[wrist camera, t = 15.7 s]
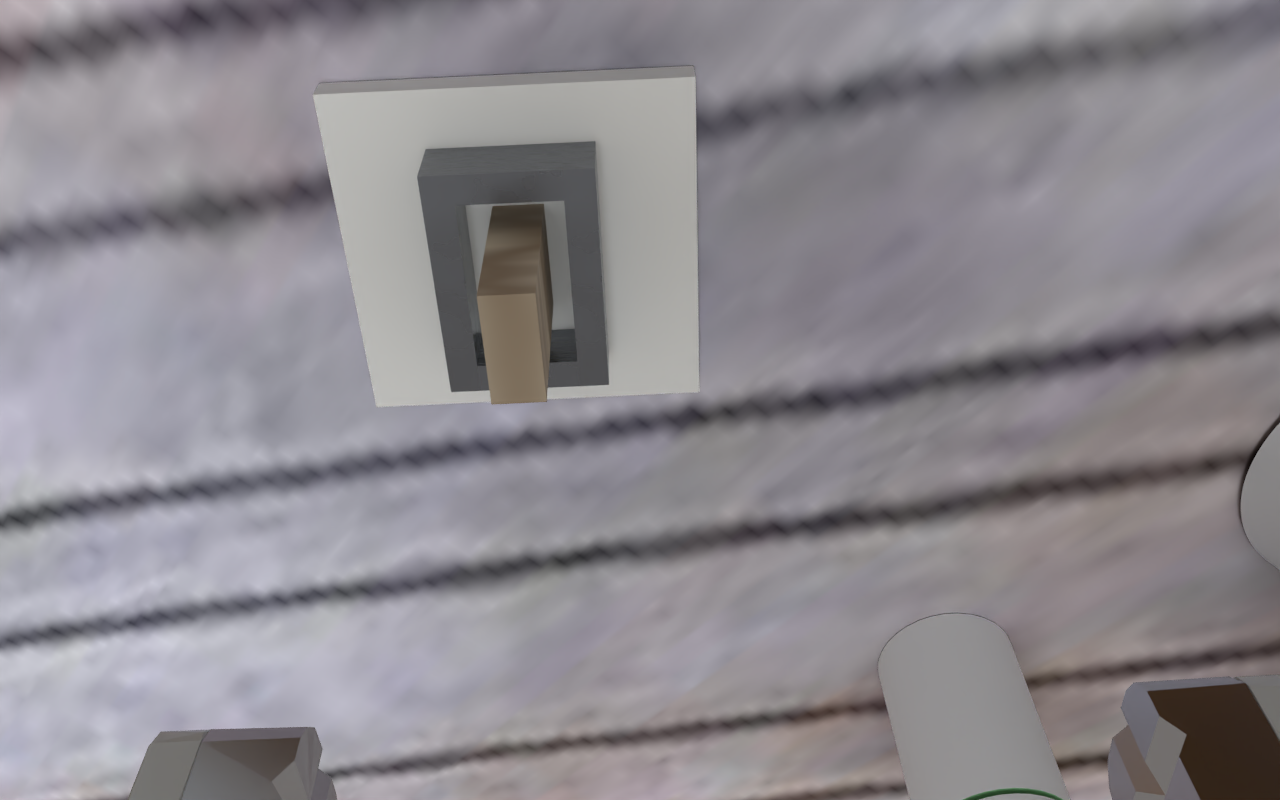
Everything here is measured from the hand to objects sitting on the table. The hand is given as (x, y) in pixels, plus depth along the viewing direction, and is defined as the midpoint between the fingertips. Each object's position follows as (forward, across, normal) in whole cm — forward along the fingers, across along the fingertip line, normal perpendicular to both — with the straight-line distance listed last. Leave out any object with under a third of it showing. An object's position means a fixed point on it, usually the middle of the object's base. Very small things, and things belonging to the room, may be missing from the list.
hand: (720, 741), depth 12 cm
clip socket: (+34, -5, -12) cm, 37 cm away
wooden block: (+34, -5, -12) cm, 37 cm away
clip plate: (+35, -5, -12) cm, 38 cm away
